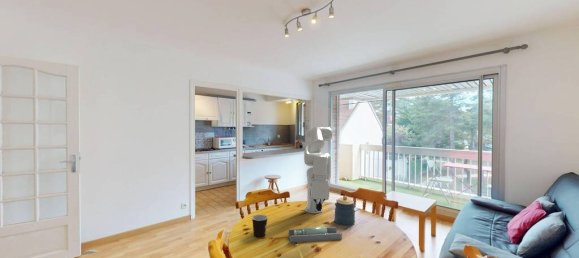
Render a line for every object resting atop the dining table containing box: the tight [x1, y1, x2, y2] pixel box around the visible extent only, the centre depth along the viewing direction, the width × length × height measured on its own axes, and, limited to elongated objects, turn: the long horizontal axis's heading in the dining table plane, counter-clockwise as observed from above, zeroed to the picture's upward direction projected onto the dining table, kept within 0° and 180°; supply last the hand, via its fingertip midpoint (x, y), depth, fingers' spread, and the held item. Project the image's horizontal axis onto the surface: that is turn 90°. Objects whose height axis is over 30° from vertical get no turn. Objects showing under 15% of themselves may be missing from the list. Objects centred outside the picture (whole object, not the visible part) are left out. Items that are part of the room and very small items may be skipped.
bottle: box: [294, 225, 327, 235], centre depth 131 cm, size 5×5×18 cm
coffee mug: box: [251, 214, 268, 239], centre depth 135 cm, size 12×9×10 cm
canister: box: [333, 195, 356, 227], centre depth 153 cm, size 13×13×18 cm
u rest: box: [288, 226, 343, 245], centre depth 131 cm, size 9×28×4 cm, turn 100°
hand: (318, 210), depth 131 cm, fingers closed
